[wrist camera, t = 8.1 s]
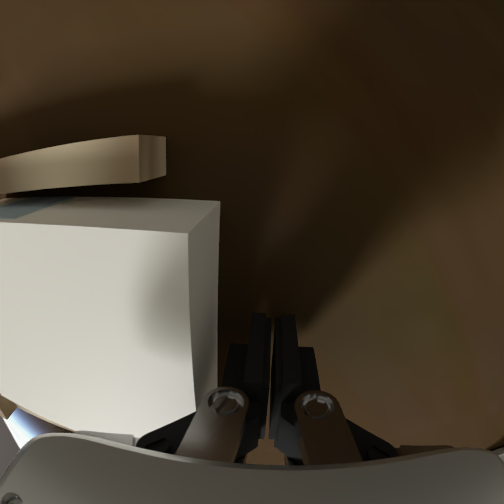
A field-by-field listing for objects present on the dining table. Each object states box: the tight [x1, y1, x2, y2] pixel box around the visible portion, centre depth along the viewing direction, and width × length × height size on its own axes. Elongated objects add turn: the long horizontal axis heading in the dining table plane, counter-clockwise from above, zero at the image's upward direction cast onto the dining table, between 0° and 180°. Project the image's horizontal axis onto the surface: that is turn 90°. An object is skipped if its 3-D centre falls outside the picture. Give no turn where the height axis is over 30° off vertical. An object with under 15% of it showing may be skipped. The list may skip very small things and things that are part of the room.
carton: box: [0, 196, 220, 438], centre depth 11 cm, size 12×10×5 cm
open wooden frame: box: [0, 135, 166, 432], centre depth 12 cm, size 14×16×4 cm
